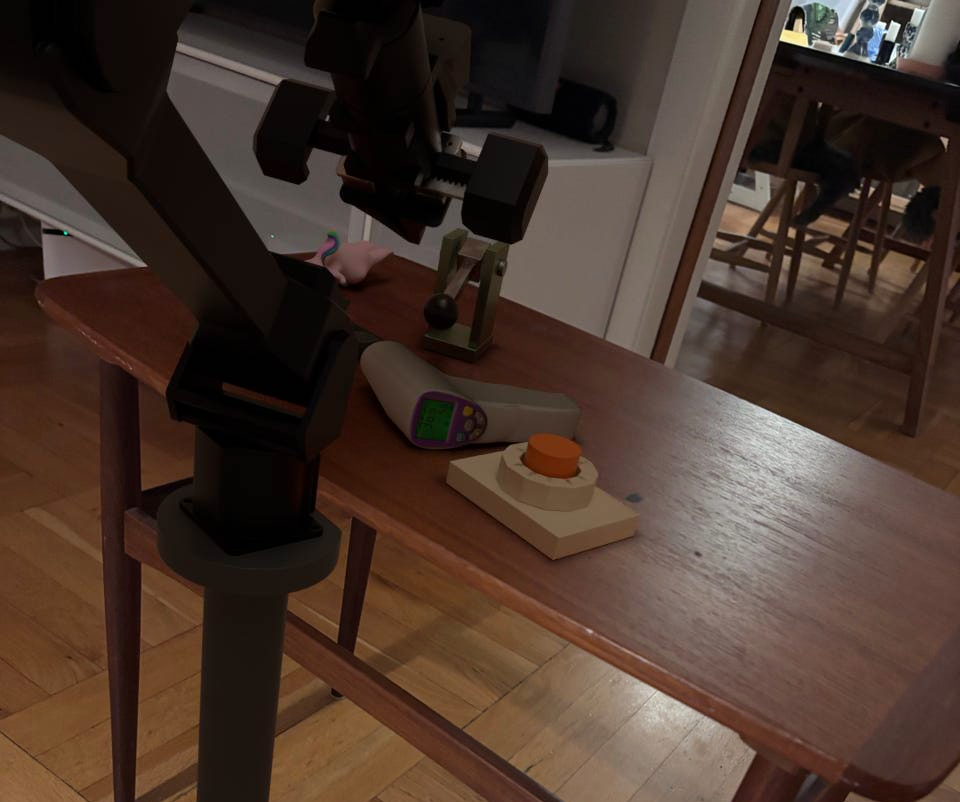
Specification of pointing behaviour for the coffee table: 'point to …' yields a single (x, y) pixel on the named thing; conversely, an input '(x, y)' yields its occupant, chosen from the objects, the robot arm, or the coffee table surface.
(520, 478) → the button box
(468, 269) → the switch lever
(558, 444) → the button
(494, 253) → the switch bracket
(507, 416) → the infrared thermometer
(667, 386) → the coffee table surface
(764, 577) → the coffee table surface
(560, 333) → the coffee table surface
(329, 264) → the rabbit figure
